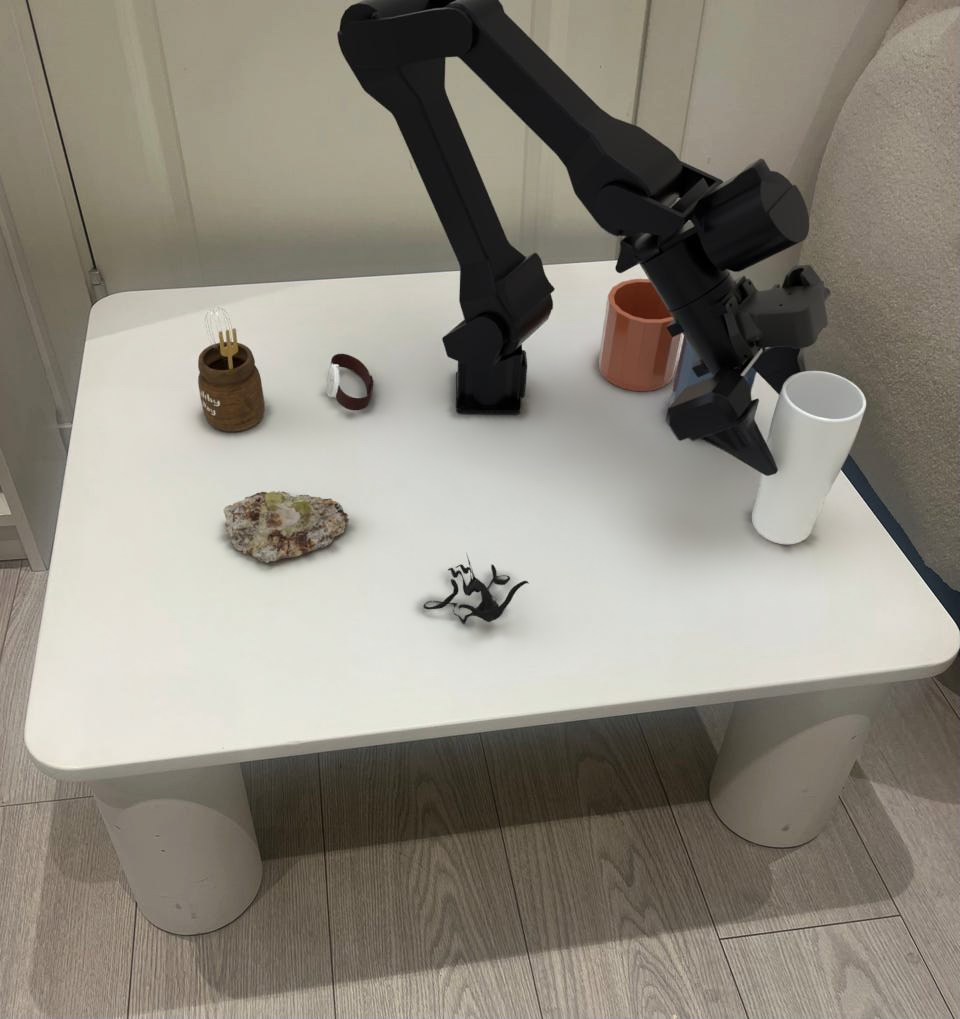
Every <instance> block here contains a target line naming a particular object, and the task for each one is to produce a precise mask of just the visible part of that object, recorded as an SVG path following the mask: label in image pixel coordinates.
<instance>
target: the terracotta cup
mask: <svg viewBox="0 0 960 1019" xmlns="http://www.w3.org/2000/svg"><path fill="white" fill-rule="evenodd" d="M605 307H606V308H605V312H604V313H605V314H604V321H603V327H602V334H601V340H600V348H599V356H598V370H599V372H600V374H601V375H602V377H603V378H604V379H605V380H606V381H607V382H609V383H611V384H612V385H614V386H615V387H618V388H620V389H623V390H628V391H632V392H651V391H656V390H659V389H661V388H664V387H665V386H667V385H668V384H669V383H671V381H672V379H673V378H674V376H675V372H676V369H677V365H678V360H679V355H680V350H681V346H682V341H683V336H684V335H683V333H681V334H679V335H676V336H674V337H672V336H671V334H670V333H669V331H668V329H667V328H666V327H667V326H668V325H669V324H670V323H671V322H672V320H673V317H672V316H671V314H670V312H669V311H668V309H667V307H666V306H665V304H664V303H663V301H662V299H661V298H660V296H659V295H658V293H657V291H656V290H655V288H654V287H653V285H652V283H651V282H650V280H649V279H648V278H633V279H628V280H624V281H621V282H619V283H617V284H616V285H614V286H612V287H611V289H610V291H609V293H608V295H607V300H606V306H605Z"/></svg>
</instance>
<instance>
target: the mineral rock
mask: <svg viewBox="0 0 960 1019" xmlns="http://www.w3.org/2000/svg"><path fill="white" fill-rule="evenodd" d="M223 514H224V517H225V519H226V521H225V524H224V525H225V532H227V535H228V538H229V539H230V541H231V545H232V547H233V548H234V549H236V550H237V551H238V552H240V551H242V552H243V554H245V555H247V556H248V555H249V556H251V557H254V558H255V559H257V560H259V561H260V562H262V563H267V564H270V562H276V561H278V560H282V559H285V558H286V559H287V558H290V559H291V558H296V557H299V556H302V555H303V554H308V553H310V552H314V551H315V550H318V549H319V548H322V549H323V548H327V547H328V546H329V545H330V544H332V543H333V540H334V537H336V536H339V535H342V534H344V531H345V528H346V527H347V524H348V523H349V520H350V518H348V516H349V514H348V512H345V511H344V508H343V506H342V505H341V503H339V502H338V501H336V500H333V499H332V498H331V497H330V498H322V497H320V496H311V495H309V494H296V495H295V496H293V495H291V494H290V493H289V492H286V491H280V490H278V491H274V490H273V491H269V492H267V491H261V492H257V493H255V494H253V495H250V496H246V497H245V498H244V499H243V500H239V501H237V502H234V503H233V504H232V505H231V504H229V505H227V506H224V508H223Z"/></svg>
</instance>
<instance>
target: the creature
mask: <svg viewBox="0 0 960 1019" xmlns="http://www.w3.org/2000/svg"><path fill="white" fill-rule="evenodd" d="M465 554H466V558H467V560H468V561H467V562H468V566H466V567H465V566H464V564H461V563H460V564H458V565H456V566H455V568H453V567H449V568H448V569H447V571H449V572H450V573H451V576H452V577H453V578H454V579H453V578H451V579H450V584H451V586H452V587H453V589H452V590H453V591H452V593H451V594H450V595H448V596H446V598H445V599H444V600H443V601H440V600H434V603H438V604H436V605H433V606H426V604H428V603H429V602H431V600H427V601H426V602H425V603H424V604H423V608H424V609H426V610H438V609H443V608H444V607H446V606H448V605H452V606H453V610H452V611H453V615H455V616H457V617H458V618H459V620H460V622H461V624H466V622H467V620H468V618H470V617H477V618H479V619H481V620H483V621H485V622H487V623H491V622H493V621H496V620H498V619H499V618H500V617H501V616H502V615H503V613H504V611H505V610H506V608H507V607H508V605H509V604H510V603H511V601H512V599H513V597H514V595H515V594H516V593H517V592H518V590H519V589H520V588H521V587H523V586H524V585H526V584H527V585H529V584H530V583H529V581H528V580H522V581H520V582H519V583H516V584H515V585H514V586H513V587H512V588H511V589H510V590H509V592H508V593H507V595H506V597H505V599H504V601H503V602H502V603H501V604H500V605H499V604H498V603H497V597H495V596H494V595H492V594H491V592H490V590H489V588H490V587H491V585H492V584H495V585H498V586H505V585H506V584H507V583H509V582H510V580H511V577H510V575H507V574H506V575H504V574H503V575H497V568H496V567H495V565H494V564H493V563H492V564H490V569H491V572H492V579H491V581H490V583H489V584H488V586H486V584H484V582H482V581H481V580H480V579H479V578H477V577H476V575H475V573H474V571H473V567H472V564H471V562H470V559H469V556H468V553H467V552H465ZM459 567H460V569H461V570H460V569H458V570H455V569H457V568H459ZM463 574H465V575H468V574H470V575H469V576H470V577H469V578H470V580H469V582H468V584H467V583H466V581H465V579H464V576H463ZM459 575H460V576H461V577H462V578H461V579H462V591H463V593H464V595H465V596H468V597H470V596H471V595H472V594H473V593H474V592H475V593H480V595H481V601H480V603H479V604H478V605H477V607H474V606H472V605H470V604H466V603H462V604H459V603H458V602H452V601H453V599H455V597H456V596H457V595H458V594H459V585H458V583H457V580H456V579H457V578H458V576H459ZM498 577H507V578H506V579H501V578H498ZM494 598H495V599H494ZM458 604H459V605H458ZM457 605H458V608H457V609H458V610H459V611H460V610H461V609H466V610H468V611H470V613H468V614H465V615H464V618H462V617H461V615H459V614H457V613H455V608H456V606H457Z"/></svg>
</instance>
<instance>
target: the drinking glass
mask: <svg viewBox="0 0 960 1019" xmlns="http://www.w3.org/2000/svg"><path fill="white" fill-rule="evenodd" d="M866 408H867V399H866V396H865V394H864V392H863V391H862V390H861V388H860V387H858V386H857V385H856V384H855V383H854V382H852V381H851V380H849V379H847V378H846V377H844V376H841V375H838V374H836V373H832V372H829V371H821V370H806V371H805V372H800V373H797V374H794V375H792V376H791V377H789V378H788V379H787V380H786V381H785V382H784V384H783V387H782V390H781V392H780V395H779V394H778V398H777V400H776V404H775V406H774V409H773V413H772V417H771V421H770V424H769V429H768V435H767V440H766V444H767V446H768V448H769V450H770V452H771V454H772V456H773V458H774V461H775V463H776V466H777V468H778V471H777V473H776V474H773V475H770V476H766V475H764V474H762V473H761V474H760V478H759V483H758V489H757V494H756V498H755V502H754V506H753V509H752V513H751V522H752V525H753V527H754V529H755V530H756V532H757V533H758V534H759V535H760V536H761V537H763V538H764V539H766V540H767V541H769V542H772V543H776V544H780V545H795V544H798V543H801V542H803V541H804V540H806V539H807V538H808V537H809V536H810V535H811V533H812V531H813V528H814V525H815V522H816V520H817V518H818V516H819V514H820V511H821V510H822V508H823V506H824V504H825V501H826V499H827V498H828V496H829V494H830V491H831V490H832V487H833V486H834V484H835V482H836V479H837V478H838V477H839V474H840V473H841V470H842V468H843V467H844V464H845V462H846V461H847V459H848V456H849V454H850V452H851V450H852V448H853V446H854V443H855V440H856V439H857V435H858V433H859V430H860V427H861V424H862V421H863V418H864V414H865V412H866Z"/></svg>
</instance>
